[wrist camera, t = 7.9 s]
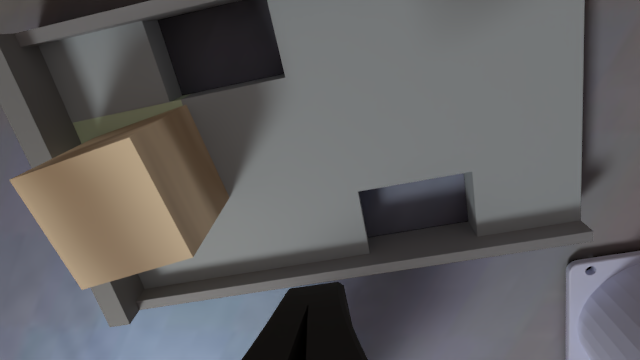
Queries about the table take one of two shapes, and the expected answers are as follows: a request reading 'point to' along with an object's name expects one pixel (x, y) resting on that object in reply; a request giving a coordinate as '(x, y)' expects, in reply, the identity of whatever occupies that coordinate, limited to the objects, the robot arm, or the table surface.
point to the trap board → (331, 132)
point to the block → (127, 198)
